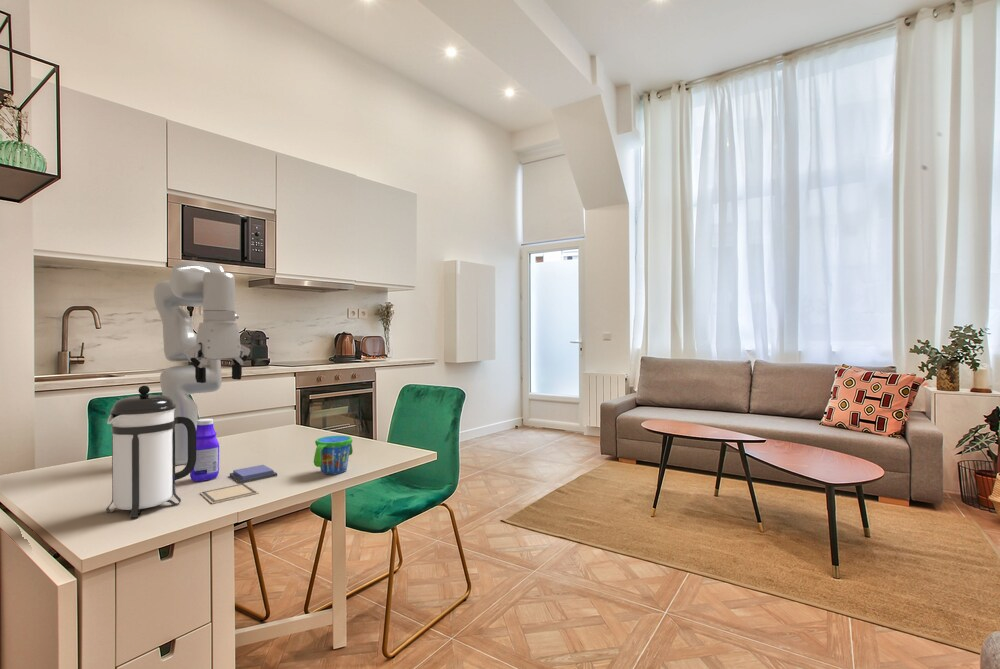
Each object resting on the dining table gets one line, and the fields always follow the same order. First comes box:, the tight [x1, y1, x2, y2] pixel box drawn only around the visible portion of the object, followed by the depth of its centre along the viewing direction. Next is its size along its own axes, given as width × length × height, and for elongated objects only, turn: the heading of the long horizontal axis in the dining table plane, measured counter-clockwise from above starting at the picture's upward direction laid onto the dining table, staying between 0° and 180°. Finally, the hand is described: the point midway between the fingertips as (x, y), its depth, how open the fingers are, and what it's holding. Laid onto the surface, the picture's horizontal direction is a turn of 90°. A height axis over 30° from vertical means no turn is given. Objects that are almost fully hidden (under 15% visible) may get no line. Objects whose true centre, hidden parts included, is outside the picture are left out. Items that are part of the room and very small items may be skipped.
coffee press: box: [105, 385, 196, 520], centre depth 118 cm, size 17×16×30 cm
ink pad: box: [229, 464, 278, 484], centre depth 143 cm, size 10×10×2 cm
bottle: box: [189, 418, 220, 482], centre depth 140 cm, size 7×6×17 cm
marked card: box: [199, 482, 259, 505], centre depth 127 cm, size 11×11×1 cm
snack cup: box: [313, 435, 353, 475], centre depth 147 cm, size 16×10×10 cm
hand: (219, 380), depth 130 cm, fingers open, 9 cm apart
